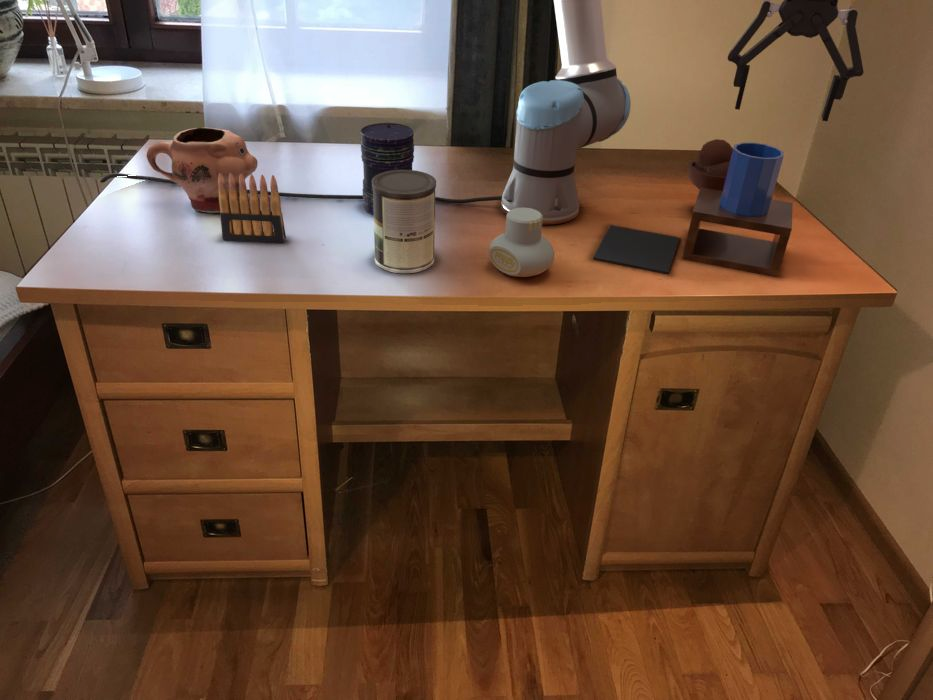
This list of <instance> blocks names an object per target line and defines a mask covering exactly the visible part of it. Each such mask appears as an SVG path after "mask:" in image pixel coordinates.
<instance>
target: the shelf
mask: <svg viewBox="0 0 933 700" xmlns="http://www.w3.org/2000/svg"><path fill="white" fill-rule="evenodd" d="M698 190H699V189H698ZM722 193H723V191H719V190H713V189H707V188H700V190H699V191H698V194H697V197H696V199H695V203H694V206H693V209H692V213H691V218H690V222H689V227H688V231H687V236H686V240H685V243H684V244H685V245H684V250H683V253H682V257H681V258H682V260H686V261H692V262H697V263H702V264H708V265H714V266H718V267H723V268H729V269H734V270H739V271H744V272H750V273H755V274H761V275H765V276H771V277H776V278H778V276H779V273H780V270H781V267H782V264H783V261H784V256H785V253H786V250H787V247H788V243H789V240H790V237H791V234H792V231H793V211H794V209H793V208H794V204H793V203H794V202H791V201H786V200H779V199H773V198H772V200H771V203H770V207H769V210H768V213H767V214H764V215H762V216H744V215H738V214H734V213H732V212H729V211H727V210H725V209H724V208H723V207H721V206H720V201H721V197H722ZM702 222H704V223H708V224H709V223H710V224H715V225H721V226H727V227H731V228H732V227H733V228H736V229H737V228H738V229H743V230H749V231H755V232H761V233H766V234H770V235H771V234H772V235H773V238H772V240H767V239H760V238H756V237H749V236H745V235H739V234H733V233H727V232H722V231H716V230H710V229H705V228H701V224H702Z"/></svg>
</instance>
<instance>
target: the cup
mask: <svg viewBox="0 0 933 700" xmlns="http://www.w3.org/2000/svg"><path fill="white" fill-rule="evenodd" d="M732 148H733V151H732V155H731V159H730V164H729V168H728V172H727V176H726V180H725V184H724V189H723V193H722V197H721V201H720V206H721V207H723V208H724V209H725V210H727V211H729V212H732V213H734V214H738V215H744V216H762V215H764V214H767V213H768V210H769V207H770V203H771V200H772V199H773V197H774V192H775V188H776V185H777V182H778V178H779V174H780V171H781V167H782V165H783V164H782V163H783V160H784V157H785V155H784V154H785V152H784V151H783V150H782V149H781V148H778V147H776V146H773V145H771V144H770V145H769V144H767V143H760V142H753V141H751V142H750V141H749V142H739V143H735V144H733V146H732Z"/></svg>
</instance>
